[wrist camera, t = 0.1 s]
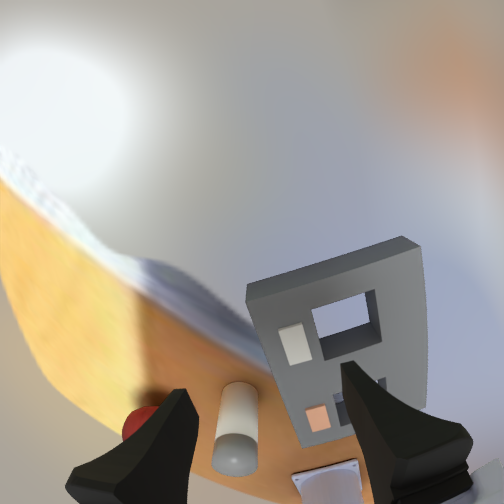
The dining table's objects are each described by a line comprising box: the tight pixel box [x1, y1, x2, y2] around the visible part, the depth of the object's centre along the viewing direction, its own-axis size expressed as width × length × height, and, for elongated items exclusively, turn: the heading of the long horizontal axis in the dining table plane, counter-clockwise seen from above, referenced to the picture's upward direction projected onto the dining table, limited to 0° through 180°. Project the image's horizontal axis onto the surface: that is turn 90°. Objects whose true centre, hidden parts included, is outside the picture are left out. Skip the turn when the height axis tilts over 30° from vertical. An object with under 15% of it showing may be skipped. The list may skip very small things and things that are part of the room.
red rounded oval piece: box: [122, 406, 159, 441], centre depth 22 cm, size 6×6×8 cm
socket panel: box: [246, 236, 428, 448], centre depth 22 cm, size 16×12×3 cm
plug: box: [212, 382, 258, 477], centre depth 21 cm, size 3×3×8 cm
